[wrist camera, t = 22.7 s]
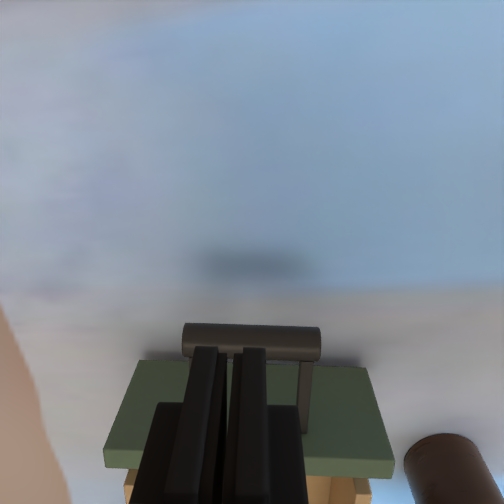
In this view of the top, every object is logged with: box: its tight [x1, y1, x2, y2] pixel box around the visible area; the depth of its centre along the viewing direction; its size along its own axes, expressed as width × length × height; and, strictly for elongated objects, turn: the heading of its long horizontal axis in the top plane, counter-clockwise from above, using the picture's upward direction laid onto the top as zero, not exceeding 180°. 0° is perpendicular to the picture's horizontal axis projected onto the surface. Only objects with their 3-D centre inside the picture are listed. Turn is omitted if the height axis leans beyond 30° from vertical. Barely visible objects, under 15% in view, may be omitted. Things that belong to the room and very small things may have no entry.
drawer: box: [103, 323, 395, 504], centre depth 26 cm, size 21×13×7 cm, turn 179°
